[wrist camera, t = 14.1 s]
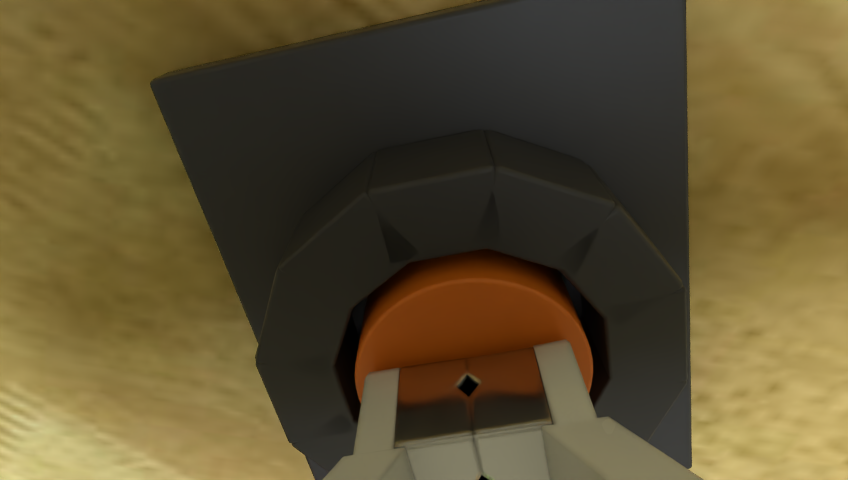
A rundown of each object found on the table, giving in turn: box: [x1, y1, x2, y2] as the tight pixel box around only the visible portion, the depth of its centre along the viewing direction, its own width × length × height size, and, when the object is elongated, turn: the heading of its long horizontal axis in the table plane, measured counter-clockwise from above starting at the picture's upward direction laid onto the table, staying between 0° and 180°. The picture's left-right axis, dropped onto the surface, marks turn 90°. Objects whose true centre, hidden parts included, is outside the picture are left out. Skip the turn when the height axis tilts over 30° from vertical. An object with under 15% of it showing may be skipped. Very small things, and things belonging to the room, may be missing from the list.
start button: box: [354, 249, 593, 403], centre depth 10 cm, size 4×4×2 cm
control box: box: [150, 0, 692, 480], centre depth 10 cm, size 10×8×2 cm
